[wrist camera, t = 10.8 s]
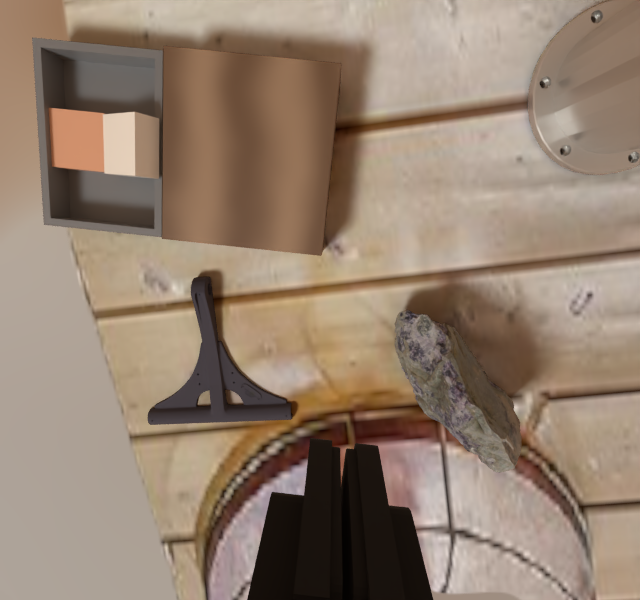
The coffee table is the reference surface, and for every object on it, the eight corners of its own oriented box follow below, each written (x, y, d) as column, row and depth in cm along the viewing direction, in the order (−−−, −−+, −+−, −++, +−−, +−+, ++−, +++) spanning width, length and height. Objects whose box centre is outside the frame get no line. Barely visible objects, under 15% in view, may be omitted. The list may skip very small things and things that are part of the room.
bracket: (281, 271, 37) (276, 275, 34) (293, 414, 40) (290, 429, 37) (133, 279, 37) (117, 284, 35) (157, 418, 41) (144, 433, 38)
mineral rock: (390, 303, 36) (410, 338, 26) (507, 294, 36) (573, 327, 26) (396, 427, 39) (416, 500, 29) (505, 421, 39) (562, 493, 29)
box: (178, 64, 32) (162, 50, 29) (175, 234, 35) (161, 237, 32) (59, 52, 32) (32, 37, 29) (67, 223, 36) (44, 224, 33)
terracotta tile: (48, 107, 31) (65, 113, 33) (51, 166, 32) (68, 169, 34) (104, 113, 31) (117, 118, 33) (105, 172, 32) (119, 174, 34)
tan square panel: (340, 81, 32) (340, 63, 28) (322, 250, 35) (321, 255, 31) (184, 65, 32) (163, 45, 28) (181, 235, 35) (162, 238, 32)
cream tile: (159, 118, 30) (134, 111, 28) (159, 178, 31) (135, 175, 29) (127, 120, 32) (102, 114, 31) (128, 176, 34) (104, 173, 32)
